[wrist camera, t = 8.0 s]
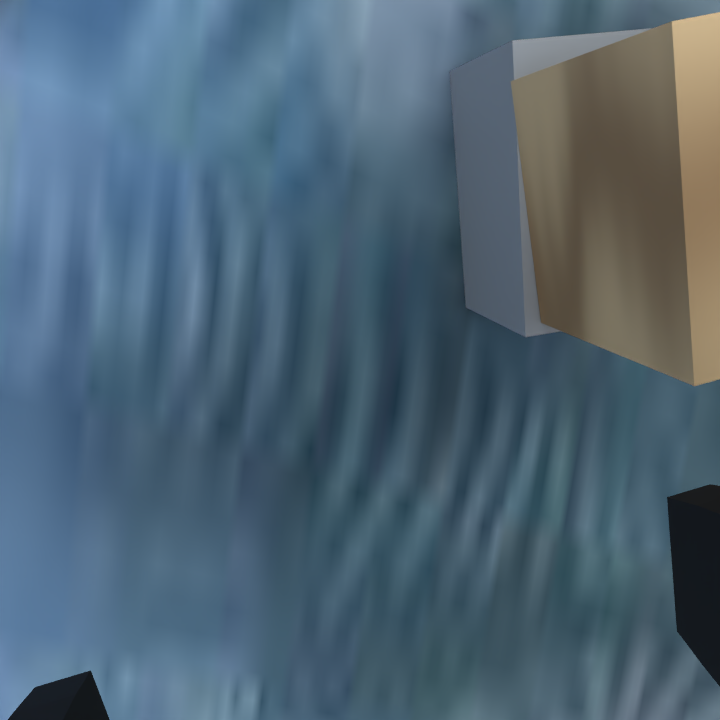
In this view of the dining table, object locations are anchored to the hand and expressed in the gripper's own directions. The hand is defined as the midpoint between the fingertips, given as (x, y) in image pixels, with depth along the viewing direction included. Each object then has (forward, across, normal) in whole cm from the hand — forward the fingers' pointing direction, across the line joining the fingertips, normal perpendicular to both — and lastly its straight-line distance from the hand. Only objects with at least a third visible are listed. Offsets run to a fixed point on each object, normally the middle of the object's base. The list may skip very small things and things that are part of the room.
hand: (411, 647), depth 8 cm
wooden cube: (+7, -8, -4) cm, 11 cm away
